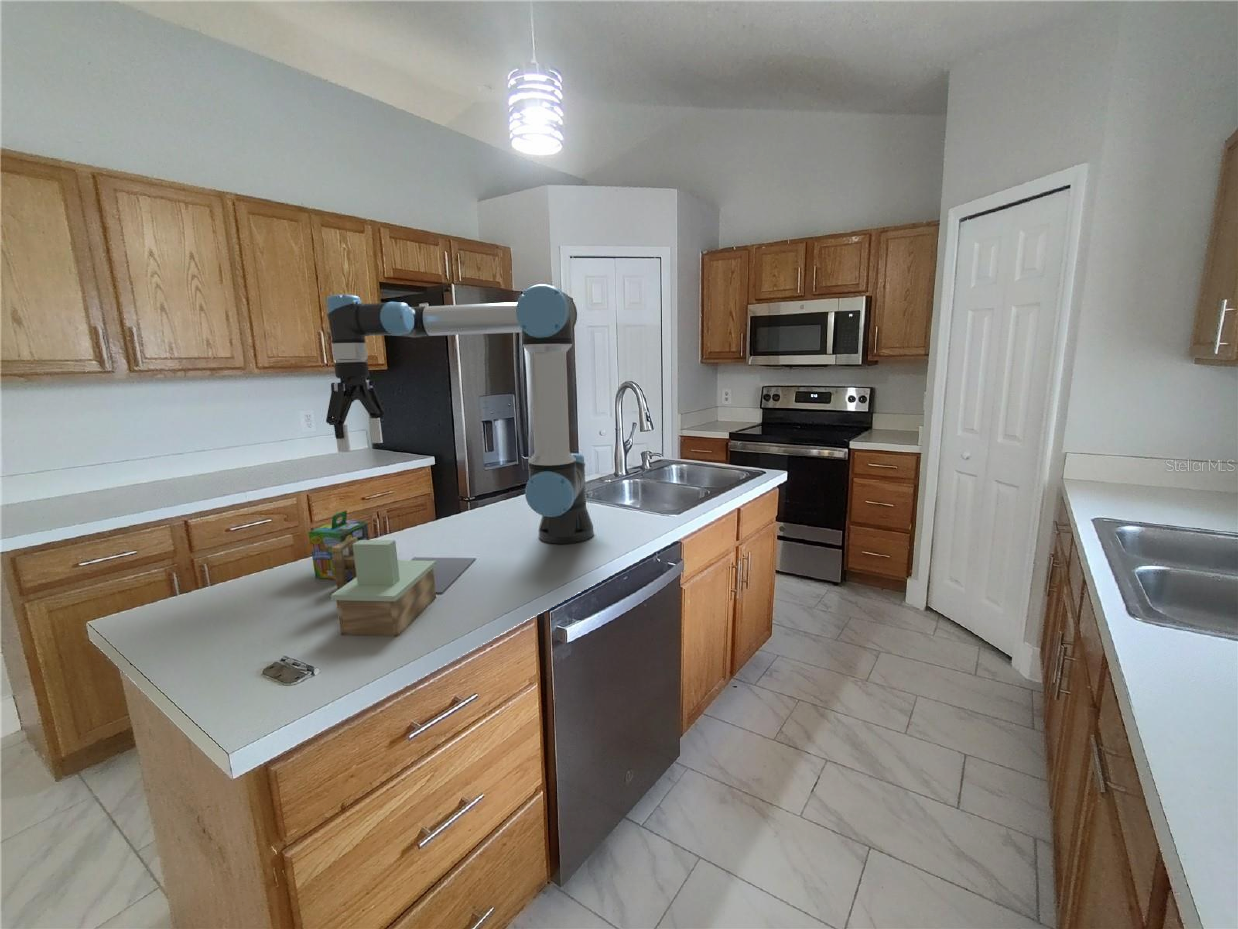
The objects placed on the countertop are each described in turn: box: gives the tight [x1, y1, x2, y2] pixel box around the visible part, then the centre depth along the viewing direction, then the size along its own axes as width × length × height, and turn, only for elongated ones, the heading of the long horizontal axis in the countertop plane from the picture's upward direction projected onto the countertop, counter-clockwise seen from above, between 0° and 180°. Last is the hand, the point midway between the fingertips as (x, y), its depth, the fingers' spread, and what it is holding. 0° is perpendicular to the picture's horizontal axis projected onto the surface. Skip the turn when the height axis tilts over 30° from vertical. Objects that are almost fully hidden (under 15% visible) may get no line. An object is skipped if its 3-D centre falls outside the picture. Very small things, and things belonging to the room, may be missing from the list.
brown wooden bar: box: [331, 555, 355, 568], centre depth 110 cm, size 2×11×4 cm, turn 84°
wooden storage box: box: [331, 538, 437, 637], centre depth 107 cm, size 16×17×13 cm
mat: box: [409, 556, 477, 595], centre depth 127 cm, size 16×20×1 cm
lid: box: [330, 539, 436, 601], centre depth 106 cm, size 17×12×9 cm
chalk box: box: [308, 510, 370, 580], centre depth 129 cm, size 9×9×15 cm
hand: (361, 447), depth 139 cm, fingers open, 13 cm apart
